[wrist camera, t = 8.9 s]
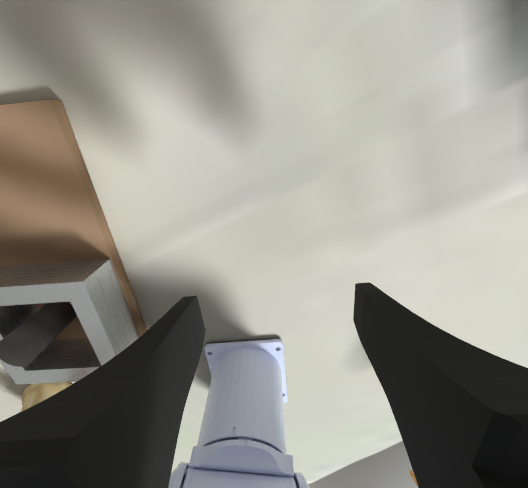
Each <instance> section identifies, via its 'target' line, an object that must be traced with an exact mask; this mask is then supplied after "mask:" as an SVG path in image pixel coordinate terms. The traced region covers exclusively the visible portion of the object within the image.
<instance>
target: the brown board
mask: <svg viewBox="0 0 528 488" xmlns="http://www.w3.org/2000/svg"><path fill="white" fill-rule="evenodd" d="M97 259H111V262H112V264H113V267H114V270H115V272H116V275H117V278H118V280H119V283H120V286H121V288H122V291H123V294H124V296H125V299H126V302H127V304H128V307H129V310H130V312H131V315H132V318H133V320H134V323H135V326H136V328H137V331H138V334H139V336H141V335H143V334H144V333H145V332H146V331H147V329H146V326H145V324H144V321H143V318H142V316H141V313H140V310H139V308H138V305H137V302H136V300H135V297H134V294H133V292H132V289H131V286H130V283H129V281H128V278H127V275H126V273H125V270H124V267H123V265H122V262H121V259H120V257H119V254H118V251H117V249H116V246H115V243H114V241H113V238H112V235H111V232H110V230H109V227H108V224H107V222H106V219H105V216H104V214H103V211H102V208H101V206H100V203H99V200H98V198H97V195H96V192H95V190H94V187H93V184H92V182H91V179H90V176H89V173H88V171H87V168H86V165H85V163H84V160H83V157H82V155H81V152H80V149H79V147H78V144H77V141H76V139H75V136H74V133H73V131H72V128H71V125H70V122H69V120H68V117H67V114H66V112H65V109H64V106H63V104H62V101H61V100H53V99H47V100H39V101H30V102H22V103H13V104H5V105H0V267H1V266H14V265H28V264H42V263H55V262H69V261H83V260H97ZM36 306H37V308H38V311H37V312H36V313H34V314H33V315H32V316H31V317H29V318H28V319H27V320H26V321H24V322H23V323H22V324H21V325H20V326H18V327H17V328H16V329H15V330H13V331H12V332H11V333H10V334H8V335H7V336H6V337H5V338H3V339H2V340H1V341H0V359H1V360H2V361H3V362H5V363H7V364H9V365H12V366H17V367H23V366H27V365H29V364H30V363H31V362H32V361H33V360H34V359H35V358H36V357H37V356H38V355H39V354H40V353H41V352H42V351H43V350H44V349H45V348H46V347H47V346H48V345H49V344H50V343H51V342H52V341H53V340H54V339H55V340H66V339H83V338H88V337H87V335H86V333H85V331H84V329H83V327H82V324H81V322H80V320H79V318H78V316H77V314H76V312H75V310H74V308H73V306H72V304H71V302H70V301H68V302H53V303H38V304H36Z"/></svg>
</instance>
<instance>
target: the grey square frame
mask: <svg viewBox="0 0 528 488" xmlns="http://www.w3.org/2000/svg"><path fill="white" fill-rule="evenodd" d="M68 301H70V302H71V304H72V306H73V308H74V310H75V312H76V314H77V316H78V318H79V320H80V322H81V324H82V327H83V329H84V331H85V333H86V335H87V337H88V338H83V339H66V340H55V339H54V340H53V341H52V342H51V343H50V344H49V345H48V346H47V347H46V348H45V349H44V350H43V351H42V352H41V353H40V354H39V355H38V356H37V357H36V358H35V359H34V360H33V361H32V362H31V363H30V364H29V365H27V366H23V367H17V366H12V365H9V364H7V363H5V362H3V361H2V360H1V359H0V362H1V364H2V365H3V366H4V368H5V369H6V371H7V372H8V374H9V375H10V376H11V378H12V379H13V381H14V382H15V383H16V385H18V384H37V383H56V382H75V381H79V380H80V379H82V378H83V377H85V376H87V375H88V374H90V373H91V372H93V371H94V370H96V369H97V368H99V367H100V366H102V365H104V364H105V363H106V362H108V361H109V360H111V359H112V358H113V357H115V356H116V355H118V354H119V353H120V352H122V351H123V350H124V349H126V348H127V347H128V346H129V345H131V344H132V343H133V342H134V341H136V340H137V339H138V338H139V337H140V336H139V334H138V331H137V328H136V326H135V323H134V320H133V318H132V315H131V312H130V310H129V307H128V304H127V302H126V299H125V296H124V294H123V291H122V288H121V286H120V283H119V280H118V278H117V275H116V272H115V270H114V267H113V264H112V262H111V259H97V260H83V261H69V262H55V263H42V264H28V265H14V266H1V267H0V341H1V340H2V339H3V338H5V337H6V336H7V335H8V334H10V333H11V332H12V331H13V330H15V329H16V328H17V327H18V326H20V325H21V324H22V323H23V322H24V321H26V320H27V319H28V318H29V317H31V316H32V315H33V314H34V313H36V312H37V311H38V308H37V306H36V304H38V303H53V302H68Z"/></svg>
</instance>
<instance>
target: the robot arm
mask: <svg viewBox="0 0 528 488" xmlns="http://www.w3.org/2000/svg"><path fill="white" fill-rule="evenodd" d="M353 320H354V323H355V326H356V329H357V332H358V335H359V338H360V341H361V343H362V345H363V347H364V350H365V352H366V354H367V356H368V358H369V360H370V362H371V364H372V366H373V368H374V370H375V373H376V375H377V377H378V379H379V381H380V383H381V385H382V387H383V389H384V391H385V394H386V396H387V398H388V401H389V403H390V406H391V409H392V412H393V414H394V417H395V420H396V422H397V425H398V428H399V431H400V434H401V436H402V439H403V442H404V445H405V448H406V451H407V454H408V456H409V460H410V463H411V466H412V469H413V472H414V475H415V478H416V481H417V484H418V487H419V488H528V368H526V367H523V366H520V365H518V364H515V363H512V362H510V361H507V360H505V359H503V358H500V357H498V356H495V355H493V354H491V353H488V352H486V351H484V350H482V349H480V348H477V347H475V346H473V345H471V344H469V343H467V342H465V341H462V340H460V339H458V338H457V337H455V336H453V335H451V334H449V333H447V332H445V331H443V330H441V329H439V328H438V327H436V326H434V325H432V324H431V323H429V322H427V321H426V320H424V319H423V318H421V317H419V316H418V315H416V314H414V313H413V312H411V311H410V310H408V309H407V308H405V307H404V306H402V305H401V304H399V303H398V302H397V301H395V300H394V299H392V298H391V297H389V296H388V295H387V294H385V293H384V292H382V291H381V290H380V289H378V288H377V287H375V286H374V285H372V284H371V283H358V284H356V285H355V302H354V319H353ZM204 335H205V327H204V323H203V319H202V315H201V311H200V307H199V303H198V299H197V296H189V297H183V298H182V299H181V300H180V301H179V302H177V303H176V304H175V305H174V306H173V307H172V308H171V309H170V310H169V311H168V312H167V313H166V314H165V315H164V316H163V317H162V318H161V319H159V320H158V321H157V322H156V323H155V324H154V325H153V326H152V327H151V328H150V329H148V330H147V331H146V332H145V333H144V334H143V335H141V336H140V337H139V338H138V339H137V340H136V341H134V342H133V343H132V344H131V345H129V346H128V347H127V348H126V349H124V350H123V351H122V352H120V353H119V354H118V355H116V356H115V357H113V358H112V359H111V360H109V361H108V362H106V363H105V364H104V365H102V366H100V367H99V368H97V369H96V370H94V371H93V372H91V373H90V374H88V375H87V376H85V377H83V378H82V379H80V380H79V381H77V382H75V383H74V384H72V385H70V386H69V387H67V388H65V389H64V390H62V391H60V392H58V393H56V394H55V395H53V396H51V397H49V398H47V399H45V400H44V401H42V402H40V403H38V404H36V405H34V406H32V407H30V408H28V409H26V410H24V411H22V412H20V413H18V414H16V415H14V416H12V417H10V418H8V419H6V420H4V421H2V422H0V488H310V486H309V485H308V484H307V482H306V480H305V478H304V476H303V475H302V474H301V473H294V470H293V457H292V455H287V454H286V441H285V424H284V408H283V403H286V402H287V401H288V397H287V386H286V375H285V364H284V353H283V342H282V341H281V340H280V339H272V340H257V341H242V342H228V343H213V344H207V345H206V346H205V348H204V350H205V354H206V358H207V362H208V366H209V369H210V373H211V377H212V379H211V384H210V388H209V393H208V397H207V402H206V407H205V411H204V416H203V421H202V425H201V430H200V434H199V439H198V444H197V446H194V447H193V450H192V455H191V459H190V464H189V463H184V462H181V463H180V464H179V465H178V467H177V468H176V469H175V470H174V471H173V472H172V473H171V470H172V464H173V459H174V454H175V449H176V444H177V438H178V434H179V429H180V424H181V420H182V415H183V411H184V407H185V403H186V400H187V397H188V393H189V390H190V387H191V384H192V381H193V378H194V374H195V371H196V368H197V365H198V362H199V358H200V355H201V352H202V347H203V342H204ZM277 347H280V348H277Z"/></svg>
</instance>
